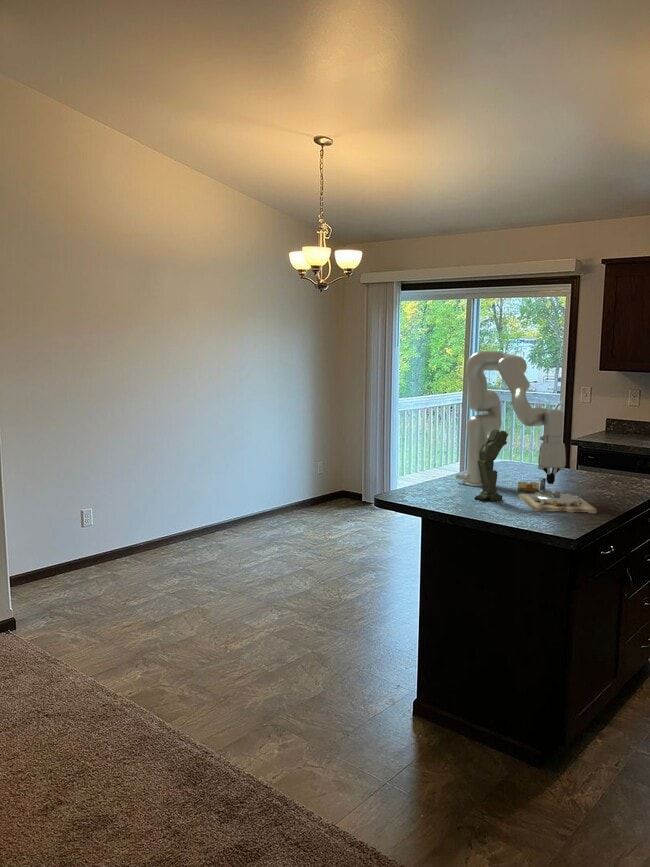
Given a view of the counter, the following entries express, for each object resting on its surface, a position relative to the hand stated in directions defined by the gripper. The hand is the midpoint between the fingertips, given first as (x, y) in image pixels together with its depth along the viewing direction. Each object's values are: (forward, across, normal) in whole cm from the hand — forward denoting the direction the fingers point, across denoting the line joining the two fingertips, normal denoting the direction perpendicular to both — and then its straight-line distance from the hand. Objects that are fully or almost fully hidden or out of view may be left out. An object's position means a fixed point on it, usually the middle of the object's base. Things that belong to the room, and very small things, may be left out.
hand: (550, 483), depth 282 cm
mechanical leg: (+6, -26, -5) cm, 27 cm away
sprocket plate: (+6, -1, -11) cm, 13 cm away
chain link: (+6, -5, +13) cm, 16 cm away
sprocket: (+5, -1, -10) cm, 11 cm away
